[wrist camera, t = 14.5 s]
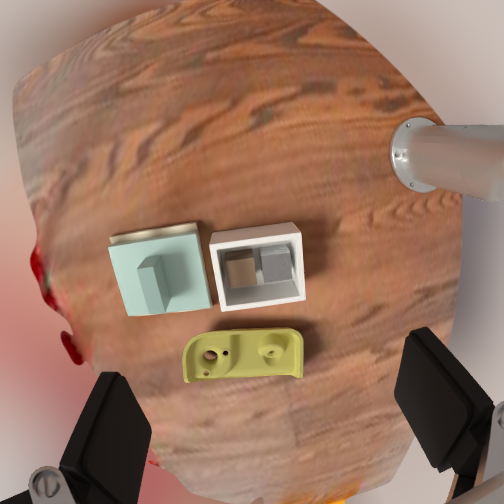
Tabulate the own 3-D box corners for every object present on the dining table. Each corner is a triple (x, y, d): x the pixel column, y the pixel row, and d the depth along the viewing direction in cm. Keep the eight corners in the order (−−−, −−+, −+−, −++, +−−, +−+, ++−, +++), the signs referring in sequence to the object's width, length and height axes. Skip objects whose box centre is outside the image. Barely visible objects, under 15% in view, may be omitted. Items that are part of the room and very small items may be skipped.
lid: (197, 230, 43) (191, 243, 37) (211, 302, 47) (208, 323, 41) (112, 243, 43) (96, 257, 37) (131, 310, 47) (119, 330, 41)
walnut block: (252, 248, 45) (253, 257, 41) (255, 273, 46) (257, 284, 42) (225, 252, 45) (224, 261, 41) (229, 276, 46) (228, 287, 42)
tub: (292, 221, 44) (301, 232, 39) (297, 282, 48) (305, 299, 42) (212, 232, 44) (209, 244, 39) (223, 292, 48) (221, 311, 42)
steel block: (285, 243, 45) (290, 252, 41) (287, 268, 46) (292, 279, 42) (258, 247, 45) (261, 256, 41) (261, 272, 46) (264, 283, 42)
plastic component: (303, 327, 48) (302, 384, 47) (291, 323, 55) (291, 373, 54) (181, 331, 45) (184, 389, 44) (185, 325, 53) (187, 377, 51)
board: (196, 221, 44) (196, 223, 43) (213, 305, 48) (212, 308, 47) (112, 235, 43) (109, 237, 42) (134, 313, 48) (132, 316, 47)
